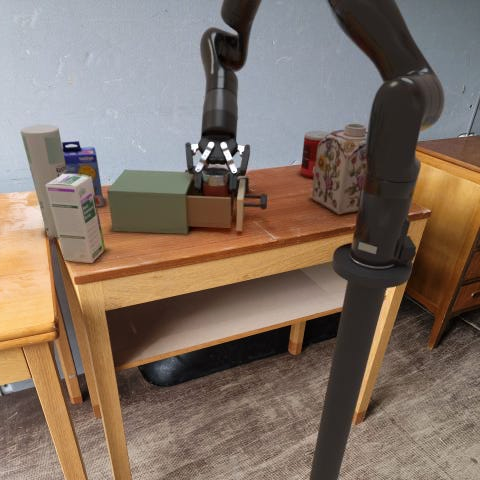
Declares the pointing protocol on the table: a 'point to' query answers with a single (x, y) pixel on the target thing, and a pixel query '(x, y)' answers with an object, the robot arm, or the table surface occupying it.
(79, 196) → the syrup box
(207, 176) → the tin
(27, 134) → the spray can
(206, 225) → the drawer
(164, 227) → the cabinet
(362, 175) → the decorative jar
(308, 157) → the canned food
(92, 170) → the ink cartridge box
